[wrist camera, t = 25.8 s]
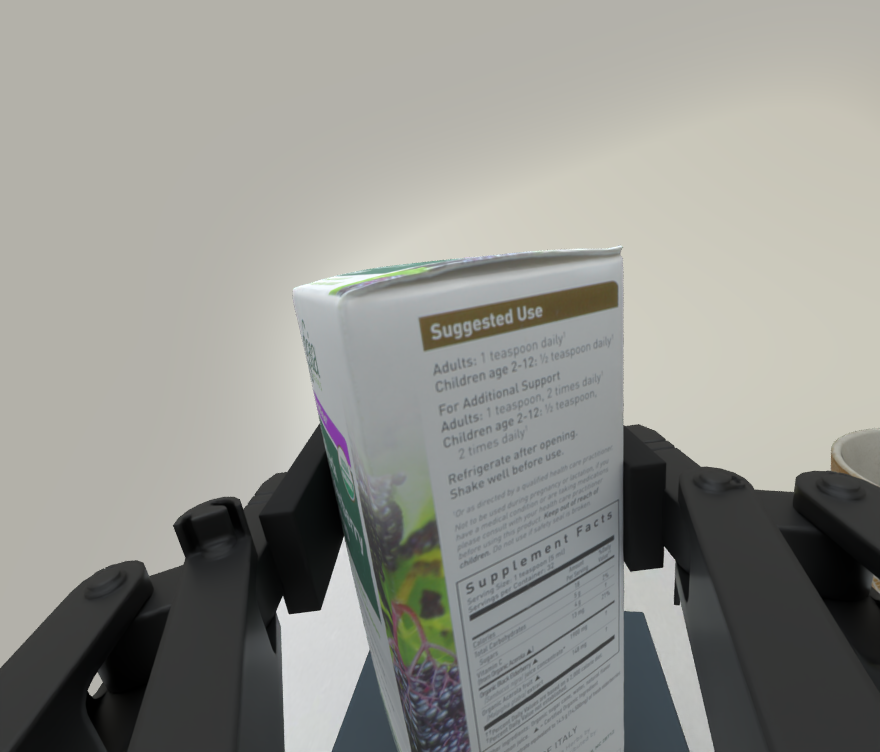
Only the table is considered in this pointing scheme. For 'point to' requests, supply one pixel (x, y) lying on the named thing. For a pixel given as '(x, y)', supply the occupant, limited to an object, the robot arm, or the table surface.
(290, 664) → the table surface
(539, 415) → the syrup box
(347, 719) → the cabinet
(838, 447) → the planter
